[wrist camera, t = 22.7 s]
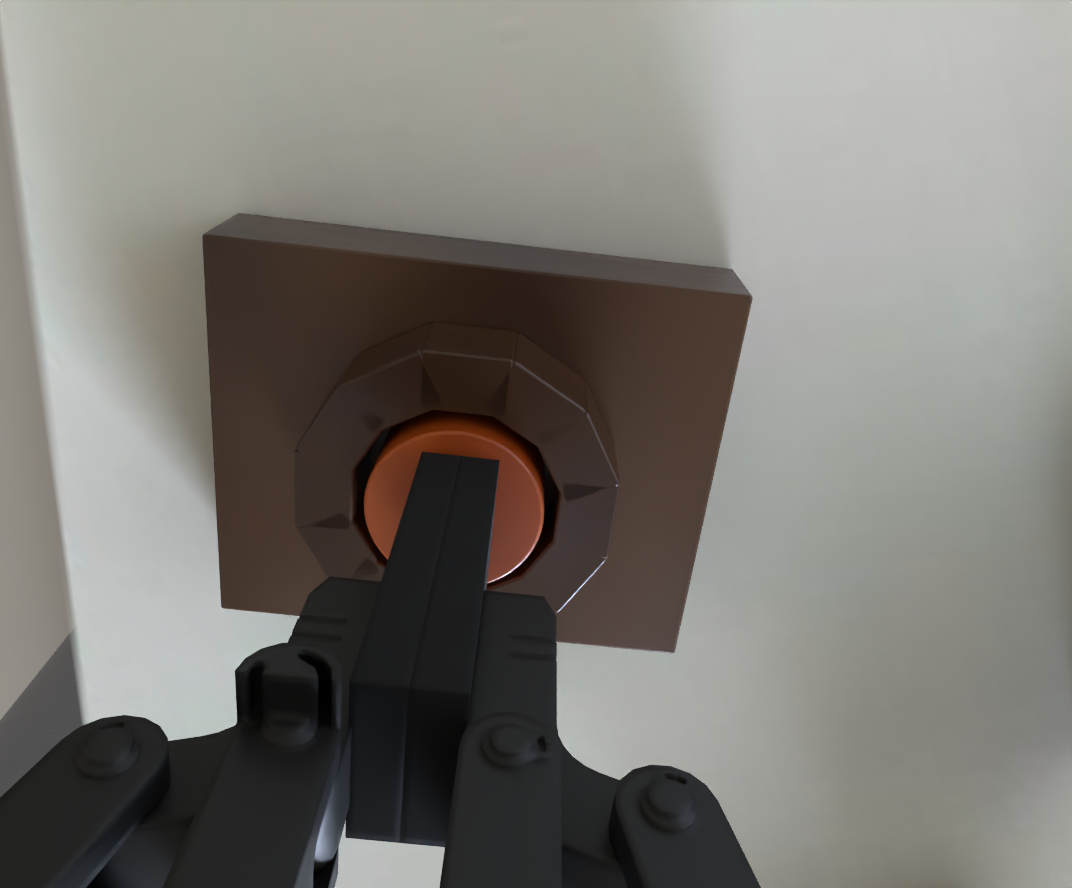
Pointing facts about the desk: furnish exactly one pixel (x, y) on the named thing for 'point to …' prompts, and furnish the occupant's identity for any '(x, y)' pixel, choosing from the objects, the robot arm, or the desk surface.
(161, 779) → the robot arm
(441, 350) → the button block
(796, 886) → the desk surface
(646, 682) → the desk surface
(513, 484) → the button
